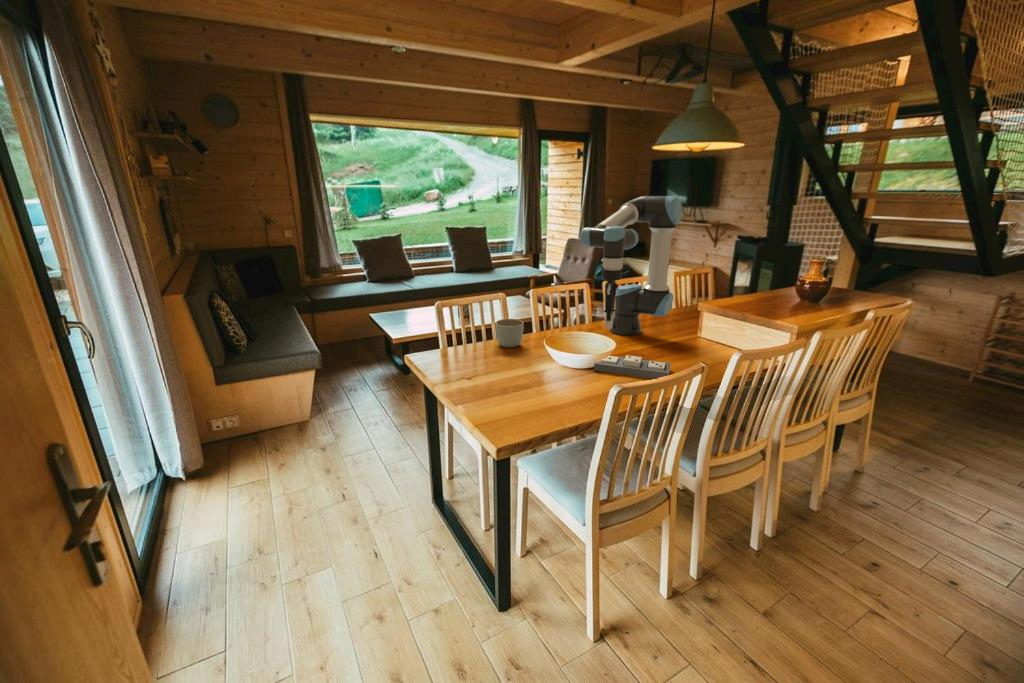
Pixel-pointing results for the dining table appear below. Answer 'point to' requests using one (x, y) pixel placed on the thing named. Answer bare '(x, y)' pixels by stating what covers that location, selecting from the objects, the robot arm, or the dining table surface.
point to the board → (632, 369)
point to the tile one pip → (610, 360)
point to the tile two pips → (632, 361)
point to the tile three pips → (656, 365)
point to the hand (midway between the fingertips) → (608, 327)
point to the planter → (509, 332)
